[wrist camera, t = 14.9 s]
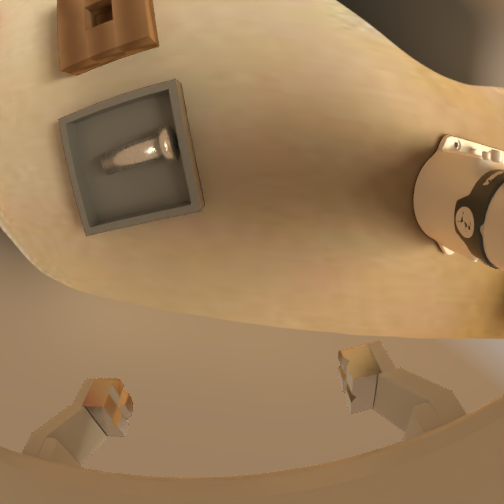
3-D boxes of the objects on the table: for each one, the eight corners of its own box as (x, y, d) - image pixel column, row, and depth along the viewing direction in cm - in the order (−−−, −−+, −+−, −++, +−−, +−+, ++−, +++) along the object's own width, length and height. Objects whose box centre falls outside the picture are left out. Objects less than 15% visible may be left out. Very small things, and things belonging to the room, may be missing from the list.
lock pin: (113, 148, 36) (175, 128, 35) (118, 180, 37) (181, 161, 36) (95, 145, 32) (162, 121, 31) (101, 180, 33) (169, 159, 32)
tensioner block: (150, -23, 27) (140, -37, 22) (159, 46, 31) (149, 36, 27) (72, 7, 27) (57, -2, 23) (77, 75, 32) (60, 70, 27)
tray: (181, 83, 33) (175, 78, 30) (204, 204, 39) (201, 211, 36) (71, 119, 34) (58, 119, 31) (96, 228, 40) (86, 236, 36)
